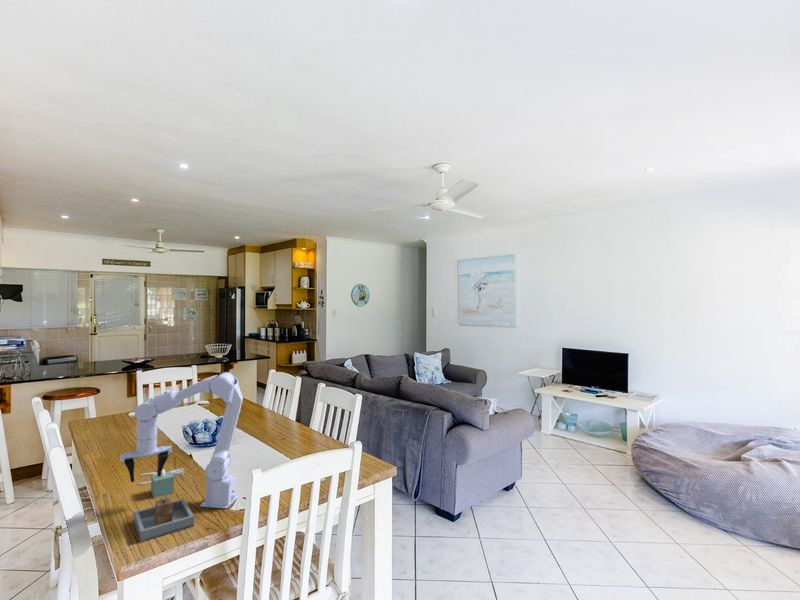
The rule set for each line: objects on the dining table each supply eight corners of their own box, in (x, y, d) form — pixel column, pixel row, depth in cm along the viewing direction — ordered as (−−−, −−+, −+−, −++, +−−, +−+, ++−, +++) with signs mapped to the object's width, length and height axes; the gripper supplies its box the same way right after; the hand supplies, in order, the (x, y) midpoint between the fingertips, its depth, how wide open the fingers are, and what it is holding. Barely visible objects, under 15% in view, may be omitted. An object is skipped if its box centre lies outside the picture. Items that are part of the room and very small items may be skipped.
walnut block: (169, 516, 129) (170, 497, 129) (172, 521, 126) (172, 502, 126) (154, 520, 126) (155, 500, 126) (157, 526, 123) (157, 506, 123)
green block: (169, 487, 150) (170, 465, 150) (173, 493, 146) (173, 471, 146) (150, 491, 146) (151, 469, 146) (153, 498, 142) (154, 475, 142)
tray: (183, 507, 136) (183, 498, 136) (194, 526, 125) (194, 516, 125) (133, 521, 127) (133, 511, 127) (140, 542, 116) (140, 531, 116)
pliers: (140, 471, 160) (183, 465, 167) (140, 475, 159) (183, 469, 167) (138, 481, 151) (184, 474, 158) (138, 486, 151) (183, 478, 158)
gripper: (169, 430, 144) (167, 468, 144) (119, 438, 134) (118, 479, 134) (173, 435, 138) (172, 475, 138) (122, 444, 129) (120, 487, 129)
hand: (145, 478), depth 136 cm, fingers open, 7 cm apart
